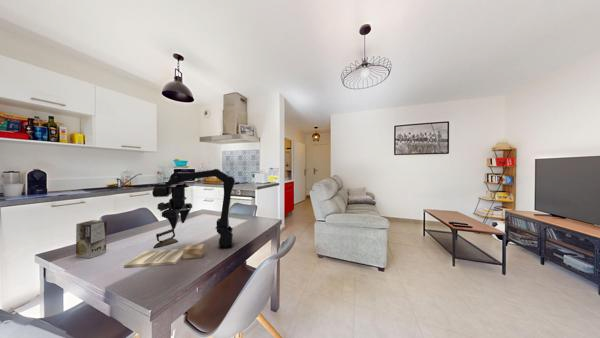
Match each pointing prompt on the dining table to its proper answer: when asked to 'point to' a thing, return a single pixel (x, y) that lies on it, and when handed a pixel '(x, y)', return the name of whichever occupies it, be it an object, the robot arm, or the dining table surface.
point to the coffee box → (91, 238)
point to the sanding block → (194, 251)
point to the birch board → (156, 258)
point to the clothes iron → (166, 241)
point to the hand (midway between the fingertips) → (178, 225)
